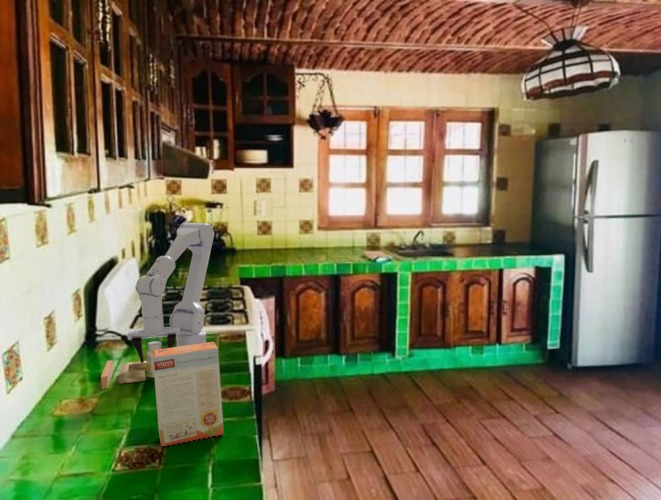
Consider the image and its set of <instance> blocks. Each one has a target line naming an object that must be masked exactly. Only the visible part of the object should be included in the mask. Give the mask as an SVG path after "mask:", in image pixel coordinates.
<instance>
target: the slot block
mask: <svg viewBox="0 0 661 500" xmlns="http://www.w3.org/2000/svg"><path fill="white" fill-rule="evenodd" d="M146 372H147V362H146V360H144V363H141V361H135V362H134V361H133V362H123V363H122V364H121V367H120V370H119V373H118V380H119V384H128V383H135V382H137V383H138V382H144V381H145V382H146V379H147V378H146Z"/></svg>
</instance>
